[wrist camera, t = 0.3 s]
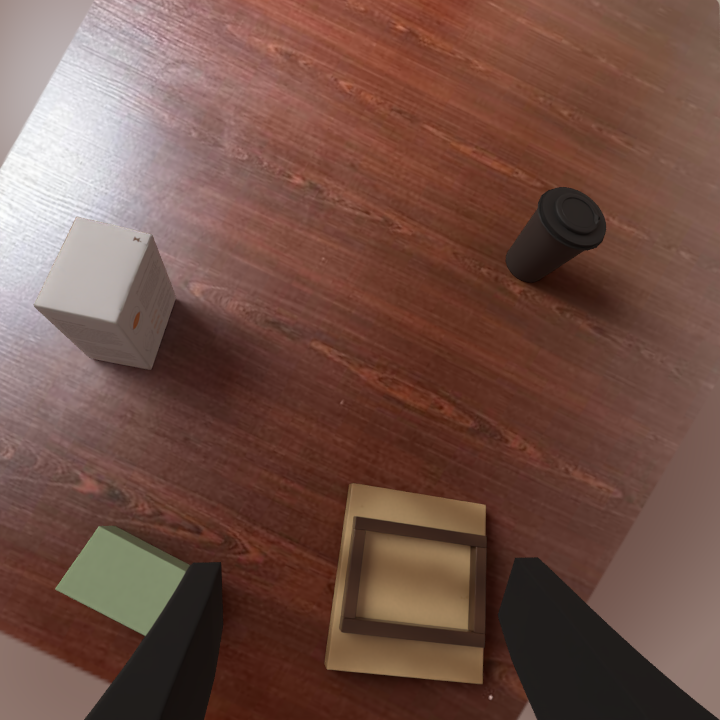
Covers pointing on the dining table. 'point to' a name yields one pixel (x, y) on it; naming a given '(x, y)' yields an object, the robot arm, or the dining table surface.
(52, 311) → the small box
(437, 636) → the wooden base with frame
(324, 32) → the dining table surface
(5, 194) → the dining table surface
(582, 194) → the coffee cup
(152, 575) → the green rectangular block
